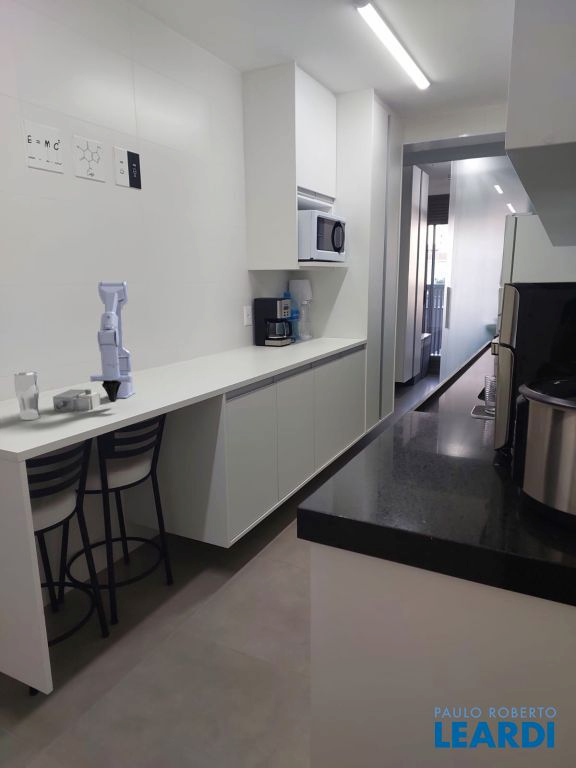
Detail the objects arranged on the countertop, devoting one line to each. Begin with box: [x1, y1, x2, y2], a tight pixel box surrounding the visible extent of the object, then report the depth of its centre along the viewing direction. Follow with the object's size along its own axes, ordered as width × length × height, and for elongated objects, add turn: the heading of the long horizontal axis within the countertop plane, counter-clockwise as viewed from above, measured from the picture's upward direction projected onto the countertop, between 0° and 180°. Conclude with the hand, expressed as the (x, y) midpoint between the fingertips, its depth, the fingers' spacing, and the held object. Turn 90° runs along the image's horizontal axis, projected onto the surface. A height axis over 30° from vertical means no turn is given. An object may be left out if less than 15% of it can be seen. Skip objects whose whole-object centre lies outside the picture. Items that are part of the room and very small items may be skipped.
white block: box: [78, 388, 100, 410], centre depth 180 cm, size 5×5×6 cm
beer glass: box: [13, 371, 41, 422], centre depth 165 cm, size 7×7×15 cm
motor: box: [52, 388, 102, 412], centre depth 179 cm, size 15×12×5 cm
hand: (113, 401), depth 180 cm, fingers closed
